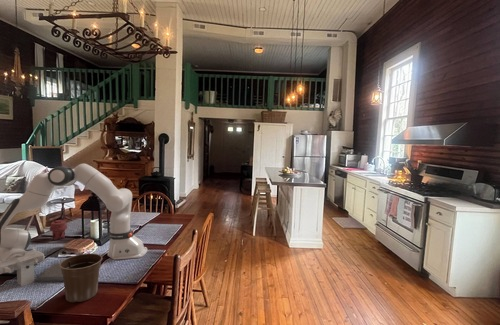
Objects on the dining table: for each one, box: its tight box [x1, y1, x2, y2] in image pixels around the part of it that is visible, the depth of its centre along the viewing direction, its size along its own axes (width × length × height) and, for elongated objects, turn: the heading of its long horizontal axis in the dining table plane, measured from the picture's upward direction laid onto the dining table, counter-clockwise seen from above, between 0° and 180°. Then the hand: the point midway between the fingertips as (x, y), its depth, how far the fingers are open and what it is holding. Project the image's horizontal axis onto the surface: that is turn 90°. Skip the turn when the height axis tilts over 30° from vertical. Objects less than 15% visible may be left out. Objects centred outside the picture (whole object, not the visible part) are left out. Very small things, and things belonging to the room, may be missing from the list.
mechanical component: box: [49, 219, 68, 241], centre depth 188 cm, size 12×10×10 cm
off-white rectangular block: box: [16, 255, 35, 287], centre depth 132 cm, size 5×6×12 cm
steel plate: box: [36, 263, 64, 283], centre depth 141 cm, size 14×14×2 cm
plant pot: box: [59, 252, 103, 303], centre depth 123 cm, size 16×16×16 cm
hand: (24, 267), depth 134 cm, fingers open, 8 cm apart
